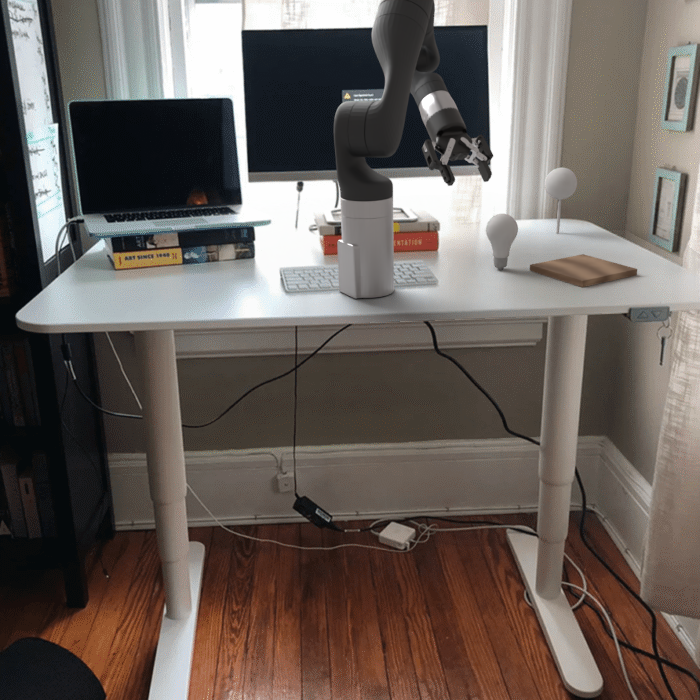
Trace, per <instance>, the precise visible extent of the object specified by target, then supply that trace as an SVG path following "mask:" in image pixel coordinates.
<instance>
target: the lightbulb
mask: <svg viewBox="0 0 700 700" xmlns="http://www.w3.org/2000/svg"><path fill="white" fill-rule="evenodd" d="M518 232H519V225H518V223H517V221H516V219H515V218H514V217H513V216H512V215H510V214H506V213H498V214H495V215H493V216H492V217H491V218H490V219H489V220H488V221H487V223H486V226H485V233H486V236H487V237H486V238H487V239H488V240H489V244H490V245H491V250H492V257H493V266H494V268H497V270H501V271H502V270H503V269H504V268H507V266H508V258H509V256H510V251H511V247H512V245H513V243H514V241H515V240H516V238H517V235H518Z"/></svg>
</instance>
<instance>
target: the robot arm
mask: <svg viewBox="0 0 700 700" xmlns="http://www.w3.org/2000/svg"><path fill="white" fill-rule="evenodd" d="M435 6H436V5H435V0H380V1H379V5H378V8H377V11H376V14H375V17H374V22H373V25H372V29H371V43H372V46H373V49H374V52H375V56H376V58H377V60H378V61H379V64H380V67H381V70H382V73H383V75H384V88H383V93H382V96H381V98H380V99H379V100H347V101H344V102H341V104H340V105H339V106H338V107H337V109H336V112H335V115H334V119H333V120H334V121H333V143H334V152H335V154H334V155H335V165H336V178H337V179H336V180H337V183H338V187H339V192H340V194H339V195H340V197H339V198H340V224H341V225H340V226H341V227H340V228H341V230H340V231H341V239H338V240H337V245H336V246H337V266H338V267H337V268H338V269H337V271H338V272H337V273H338V274H337V275H338V291H339V293H342V294H344V295H346V296H349V297H351V298H353V299H362V298H363V299H371V298H380V297H386V296H389V295H391V294H392V293H394V291H395V275H394V274H395V273H394V272H395V271H394V268H395V266H394V265H395V263H394V262H395V261H394V258H395V257H394V254H395V253H394V183H393V181H392V179H390V177H387V176H385V175H383V174H381V173H379V172H377V171H376V170H374V169H373V168H371V166H370V165H368V162H367V161H366V158H379V159H380V158H381V159H382V158H384V159H385V158H389V157H392V156H393V155H394V154H395V153H396V152H397V150H398V148H399V146H400V143H401V140H402V136H403V132H404V127H405V122H406V116H407V110H408V104H409V99H410V94H411V95H412V97H413V98H414V101H415V103H416V105H417V107H418V110H419V112H420V116H421V120H422V122H423V124H424V126H425V128H426V131H427V133H428V135H429V138H430V139H426V140H425V141H424V143H423V145H422V147H421V150H422V153H423V157H424V158H425V161H426V164H427V167H428V169H429V170H430V171H434V170H437V171H438V172H439V173H440V175H441V177H442V180H443V181H444V182H443V183H445V184H447V187H450V186H453V185H454V183H455V182H456V177H455V176H454V173H453V171H452V168H451V165H450V164H448V162H449V161H451V162H455V161H458V160H459V161H464V160H465V161H467V162H468V163H469V164H474V165H475V166H476V167H477V171H478V172H479V174H480V176H481V179H482V181H483V182H484V183H487V182H489V181H490V179H491V177H492V176H493V172H492V170H491V168H490V165H489V163H490V161H491V160H492V159H493V158H494V153H493V152H492V150H491V149H490V147H489V144H488V143H487V141H486V138H484V136H483V135H482V134H479V135H478V136H477V137H474V138H473V137H471V136H470V135H468V133H467V131H468V130H467V126H466V124H465V122H464V119H463V118H462V115H461V113H460V110H459V109H458V107H457V104H456V103H455V101H454V99H453V98H452V96H451V94H450V93H449V90H448V88H447V86H446V84H445V82H444V79H443V78H442V76H441V75H440V74H438V73H436V72H435V70H437V68H438V67H439V64H440V60H441V56H440V52H439V49H438V46H437V43H436V39H435V38H436V37H435V33H434V32H435V31H434V26H435V14H436V13H435V12H436V7H435ZM436 152H437V153H439V154H441V156H440V160H439V158H438V156H437V153H436ZM470 152H472V154H471V155H469V154H470Z"/></svg>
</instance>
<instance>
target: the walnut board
mask: <svg viewBox="0 0 700 700" xmlns="http://www.w3.org/2000/svg"><path fill="white" fill-rule="evenodd" d="M529 271H530V272H533V273H536V274H539V275H542V276H546V277H547V278H548V277H549V278H552V279H555V280H558V281H562V282H564V283H567V284H571V285H574V286H577V287H580V288H585V287H589V286H594V285H599V284H604V283H608V282H613V281H616V280H621V279H627V278H629V277H630V278H631V277H634V276H638V268H636V267H632V266H628V265H624V264H622V263H621V264H620V263H616V262H613V261H609V260H606V259H601V258H598V257H595V256H591V255H587V254H584V253H583V254H577V255H572V256H567V257H562V258H557V259H552V260H547V261H542V262H537V263H532V264H529Z"/></svg>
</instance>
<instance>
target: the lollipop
mask: <svg viewBox="0 0 700 700" xmlns="http://www.w3.org/2000/svg"><path fill="white" fill-rule="evenodd" d="M577 186H578V179H577V176H576V174H575V173H574V172H573V171H572V169H569V168H568V167H567V168H566V167H557V168H554V169H553V170H551V171H550V172H549V173H548V174H547V176H546V178H545V180H544V189H545V191H546V193H547V194H548V196H550V197H551V198H553V199H555V200H558V201H557V214H556V215H557V216H556V229H555V230H556V231H555V234H560V227H561V223H560V222H561V210H562V209H561V207H562V200H566V199H568V198H569V197H571V196H573V194H574V193H575V191H576V189H577Z"/></svg>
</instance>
